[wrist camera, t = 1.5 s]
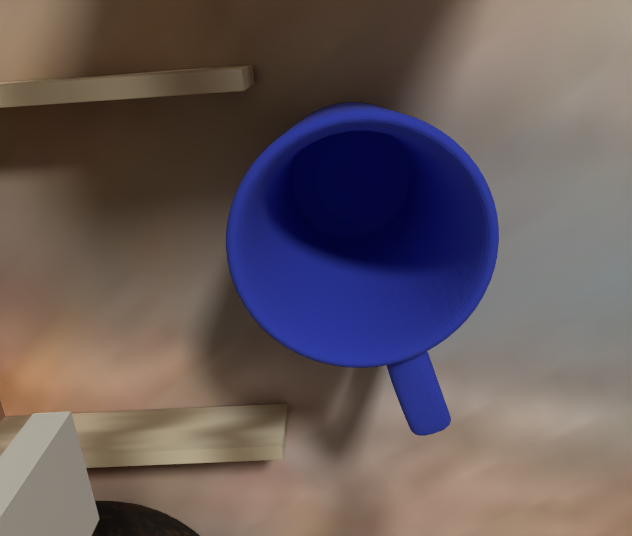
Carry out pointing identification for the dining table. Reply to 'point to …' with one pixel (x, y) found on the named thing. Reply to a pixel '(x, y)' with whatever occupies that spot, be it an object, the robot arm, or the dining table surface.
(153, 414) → the channel
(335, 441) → the dining table surface
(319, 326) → the mug
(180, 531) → the dark brown vase
